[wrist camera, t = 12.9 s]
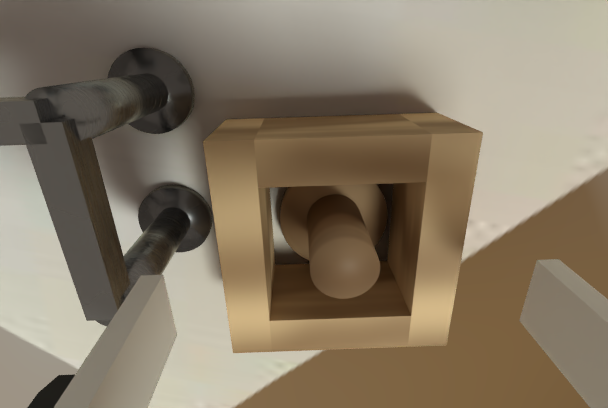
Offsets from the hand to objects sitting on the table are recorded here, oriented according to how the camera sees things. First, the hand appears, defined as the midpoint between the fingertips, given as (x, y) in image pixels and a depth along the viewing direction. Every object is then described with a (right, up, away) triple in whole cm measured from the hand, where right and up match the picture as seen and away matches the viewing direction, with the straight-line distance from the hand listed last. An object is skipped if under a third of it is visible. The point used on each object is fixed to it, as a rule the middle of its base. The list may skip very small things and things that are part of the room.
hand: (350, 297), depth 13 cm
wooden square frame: (0, +3, +8) cm, 8 cm away
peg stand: (0, +3, +8) cm, 8 cm away
